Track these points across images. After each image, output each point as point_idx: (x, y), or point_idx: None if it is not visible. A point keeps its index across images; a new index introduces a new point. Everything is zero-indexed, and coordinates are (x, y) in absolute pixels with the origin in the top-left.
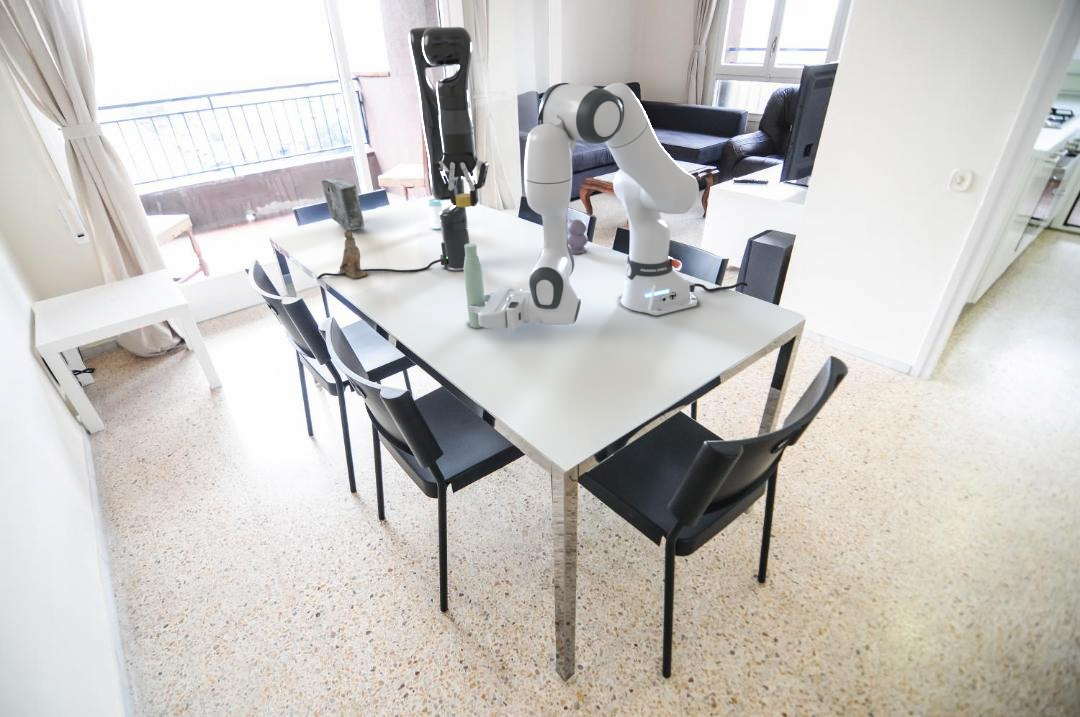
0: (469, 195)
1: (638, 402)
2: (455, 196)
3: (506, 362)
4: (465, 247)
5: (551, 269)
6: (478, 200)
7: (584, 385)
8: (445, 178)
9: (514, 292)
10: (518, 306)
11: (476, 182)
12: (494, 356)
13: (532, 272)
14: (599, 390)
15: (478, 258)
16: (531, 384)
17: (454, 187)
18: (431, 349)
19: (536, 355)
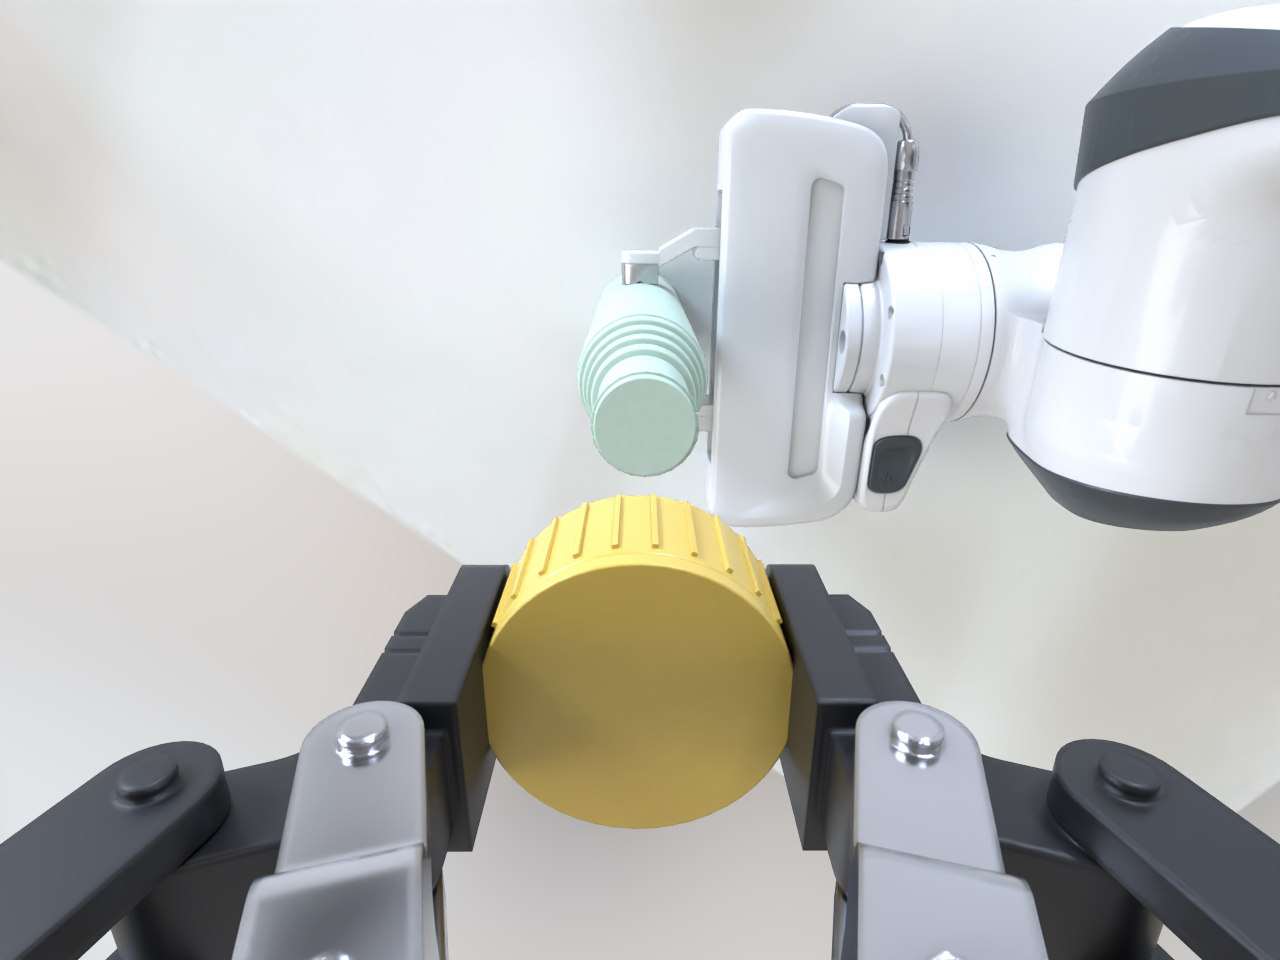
0: (743, 705)
1: (1273, 729)
2: (499, 759)
3: (838, 592)
4: (614, 466)
5: (1259, 509)
6: (870, 613)
7: (1118, 677)
8: (64, 931)
9: (892, 360)
10: (919, 464)
11: (988, 824)
12: (784, 562)
13: (1102, 478)
14: (1163, 694)
15: (689, 367)
16: (943, 696)
17: (434, 827)
18: (519, 550)
19: (946, 532)
